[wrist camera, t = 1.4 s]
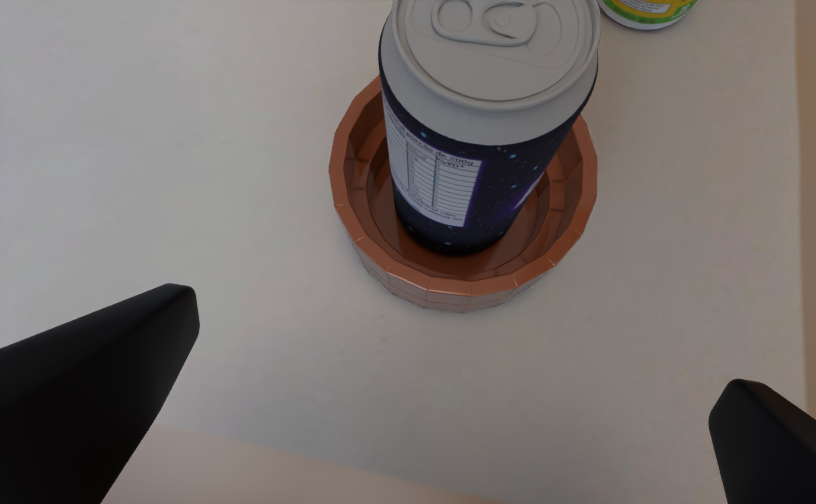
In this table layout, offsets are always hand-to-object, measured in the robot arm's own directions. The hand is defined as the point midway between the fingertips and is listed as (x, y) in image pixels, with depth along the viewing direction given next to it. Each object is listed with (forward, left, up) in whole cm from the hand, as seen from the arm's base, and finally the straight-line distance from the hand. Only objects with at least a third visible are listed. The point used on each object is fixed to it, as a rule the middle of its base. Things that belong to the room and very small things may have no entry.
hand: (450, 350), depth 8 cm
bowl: (+6, -5, -13) cm, 15 cm away
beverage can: (+6, -5, -13) cm, 15 cm away
